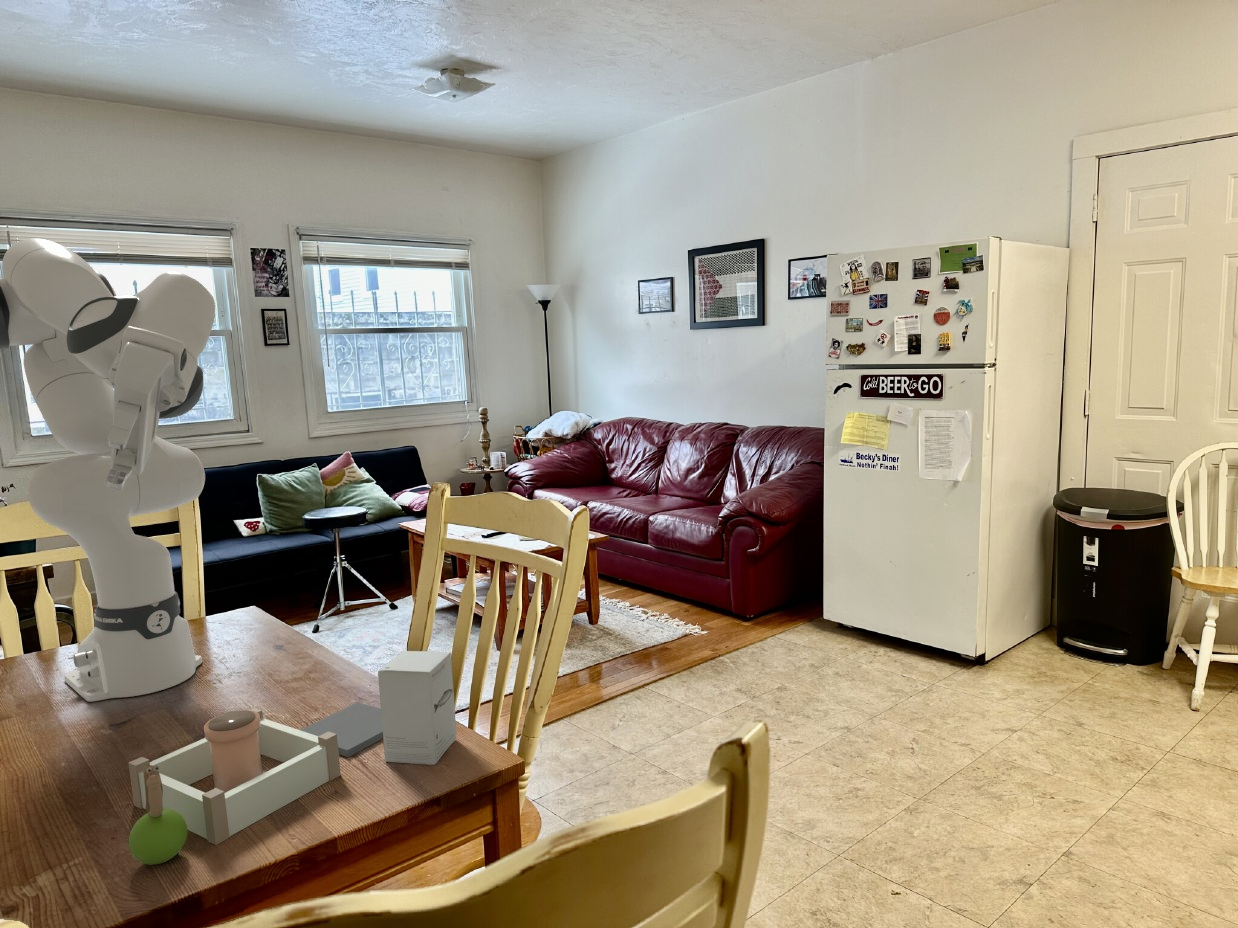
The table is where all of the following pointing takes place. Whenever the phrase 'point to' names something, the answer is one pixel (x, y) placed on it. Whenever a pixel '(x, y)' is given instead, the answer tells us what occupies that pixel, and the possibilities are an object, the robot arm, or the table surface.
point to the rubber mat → (351, 727)
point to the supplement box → (417, 707)
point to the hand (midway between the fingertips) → (114, 466)
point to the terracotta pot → (234, 748)
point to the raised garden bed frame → (251, 801)
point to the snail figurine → (156, 825)
